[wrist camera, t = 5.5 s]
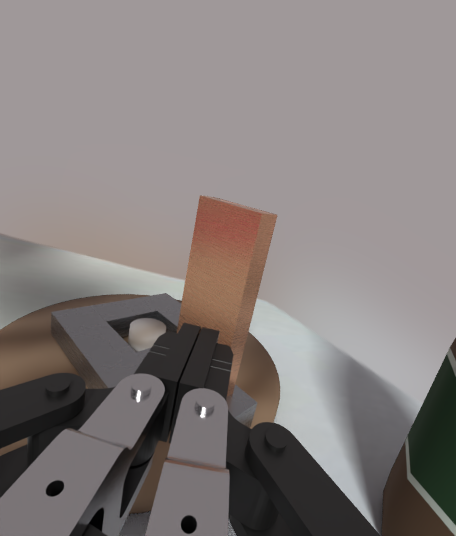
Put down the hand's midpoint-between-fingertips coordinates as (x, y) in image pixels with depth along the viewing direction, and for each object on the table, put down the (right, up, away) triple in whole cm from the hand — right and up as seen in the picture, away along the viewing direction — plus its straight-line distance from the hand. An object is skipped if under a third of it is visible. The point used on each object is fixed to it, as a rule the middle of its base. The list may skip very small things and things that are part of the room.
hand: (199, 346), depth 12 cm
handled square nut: (-4, -5, +12) cm, 14 cm away
